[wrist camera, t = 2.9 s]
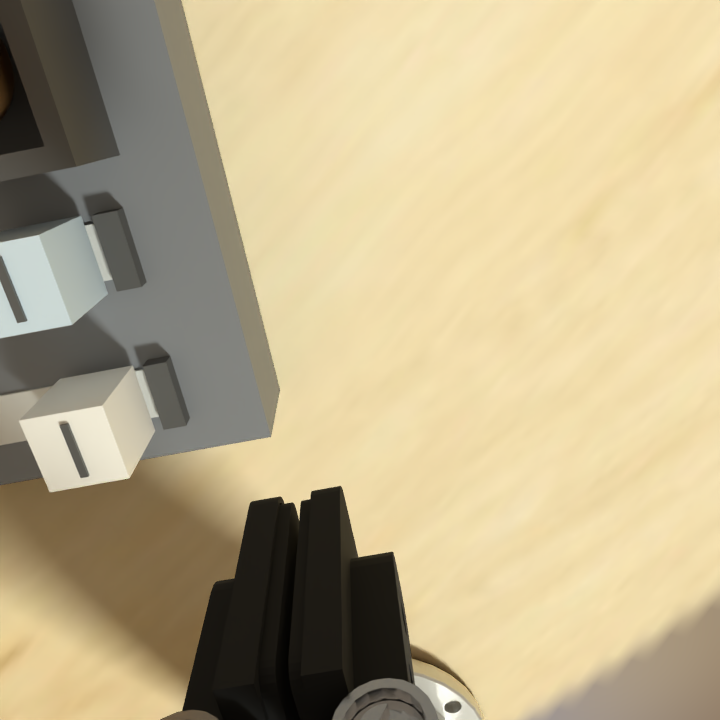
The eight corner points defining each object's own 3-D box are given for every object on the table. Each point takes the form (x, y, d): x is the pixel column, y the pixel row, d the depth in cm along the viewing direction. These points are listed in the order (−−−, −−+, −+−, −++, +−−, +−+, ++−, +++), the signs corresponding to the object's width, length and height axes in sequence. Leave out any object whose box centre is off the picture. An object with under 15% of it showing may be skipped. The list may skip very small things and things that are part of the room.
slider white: (155, 430, 22) (128, 480, 19) (85, 443, 22) (48, 494, 19) (132, 365, 21) (101, 407, 18) (59, 378, 21) (16, 422, 19)
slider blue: (107, 293, 20) (70, 326, 18) (31, 308, 20) (-18, 342, 18) (81, 215, 19) (37, 235, 17) (1, 230, 20) (-57, 253, 17)
